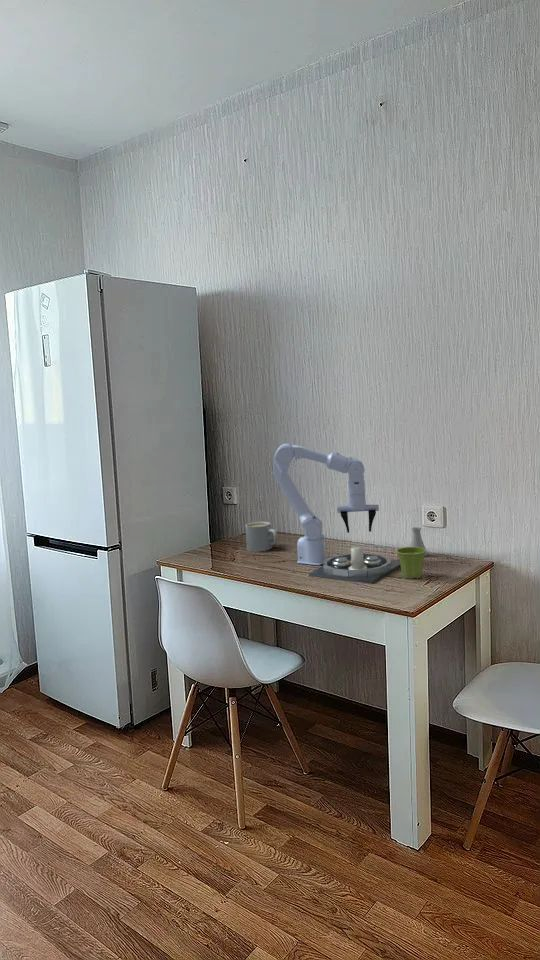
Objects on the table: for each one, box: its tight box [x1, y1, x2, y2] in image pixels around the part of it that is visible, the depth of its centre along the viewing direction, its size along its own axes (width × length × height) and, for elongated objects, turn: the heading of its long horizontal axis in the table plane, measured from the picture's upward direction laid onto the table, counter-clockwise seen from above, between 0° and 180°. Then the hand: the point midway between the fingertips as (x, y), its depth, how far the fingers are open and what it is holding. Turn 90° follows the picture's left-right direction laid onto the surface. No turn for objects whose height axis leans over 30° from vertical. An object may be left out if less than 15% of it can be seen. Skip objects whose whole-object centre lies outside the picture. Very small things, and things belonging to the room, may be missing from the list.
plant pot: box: [396, 546, 427, 580], centre depth 220 cm, size 9×9×9 cm
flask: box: [409, 526, 429, 557], centre depth 245 cm, size 7×7×10 cm
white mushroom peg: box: [349, 546, 367, 570], centre depth 226 cm, size 6×6×8 cm
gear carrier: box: [308, 552, 401, 584], centre depth 232 cm, size 24×24×4 cm
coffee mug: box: [244, 521, 279, 553], centre depth 270 cm, size 13×10×10 cm
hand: (359, 531), depth 243 cm, fingers open, 7 cm apart
